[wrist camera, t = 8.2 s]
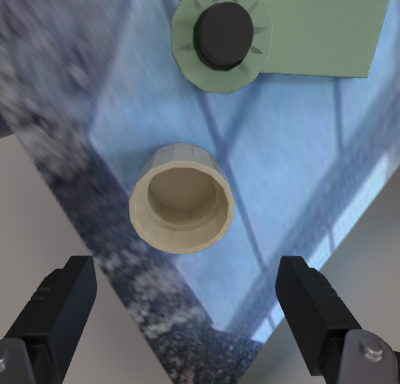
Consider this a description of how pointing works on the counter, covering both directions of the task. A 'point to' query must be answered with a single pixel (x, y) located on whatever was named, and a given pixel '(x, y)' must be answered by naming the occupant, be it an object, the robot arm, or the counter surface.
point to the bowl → (181, 200)
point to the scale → (283, 40)
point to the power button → (225, 34)
